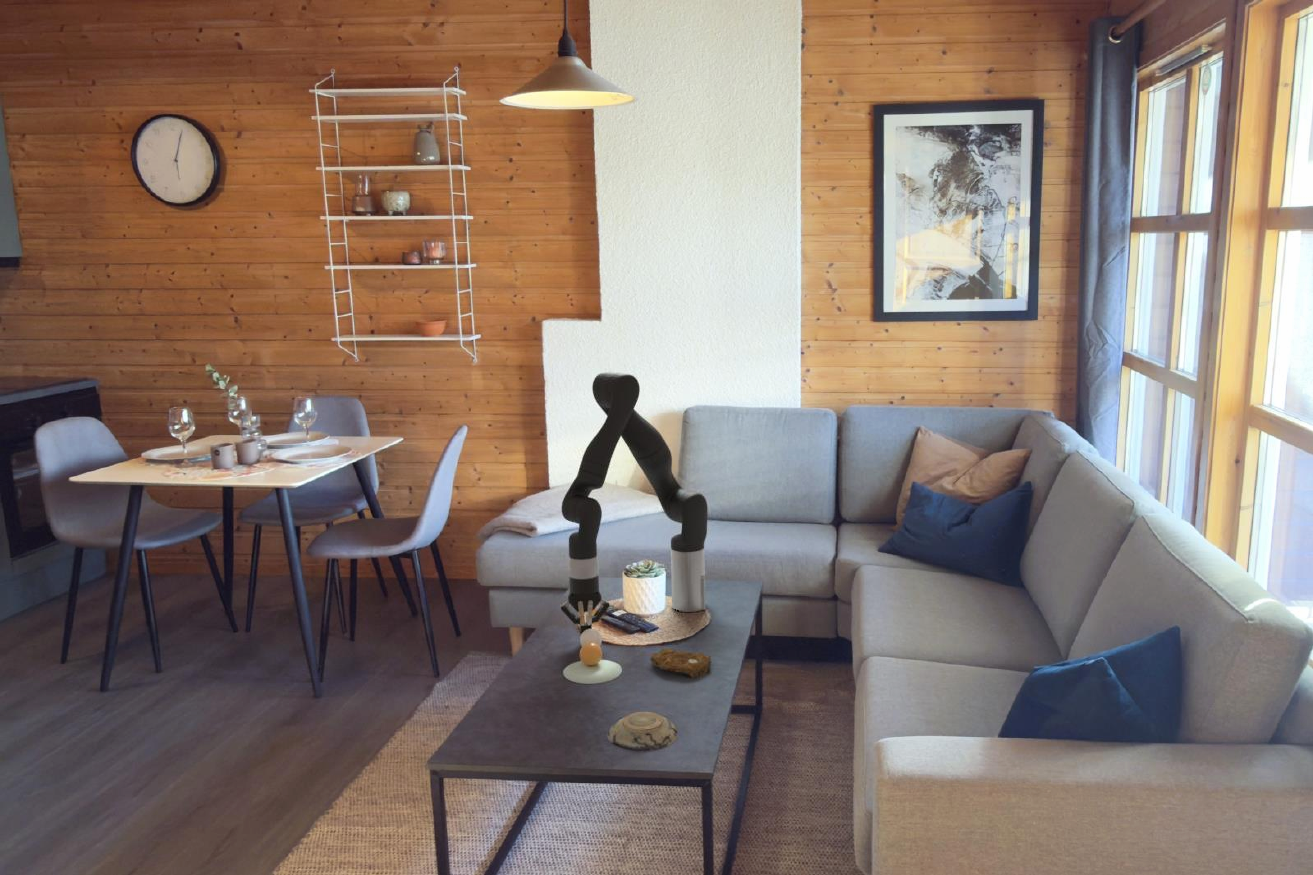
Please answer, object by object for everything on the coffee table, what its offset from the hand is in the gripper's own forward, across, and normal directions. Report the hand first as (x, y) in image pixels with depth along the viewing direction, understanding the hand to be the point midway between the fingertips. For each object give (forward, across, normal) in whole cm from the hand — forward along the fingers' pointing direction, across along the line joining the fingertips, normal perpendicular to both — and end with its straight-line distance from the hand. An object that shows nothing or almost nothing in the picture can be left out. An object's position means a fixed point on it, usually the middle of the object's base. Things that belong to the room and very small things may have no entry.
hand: (586, 637), depth 269 cm
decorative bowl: (+2, -7, +52) cm, 53 cm away
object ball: (-1, 0, +14) cm, 14 cm away
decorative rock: (+2, -21, +20) cm, 29 cm away
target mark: (+2, 0, +18) cm, 18 cm away
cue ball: (-1, -1, +5) cm, 5 cm away
